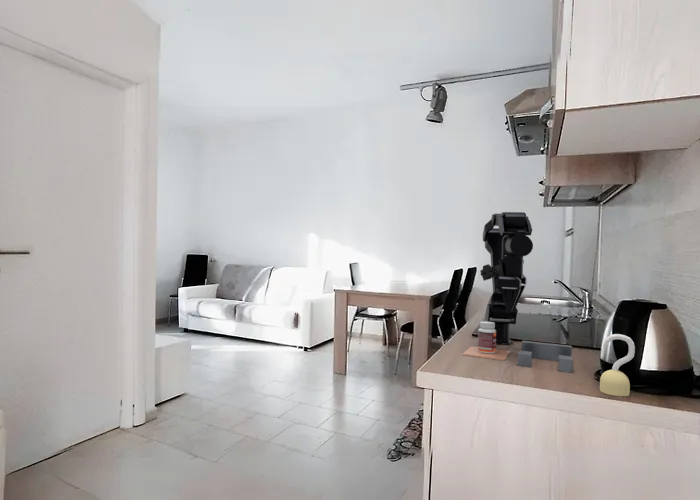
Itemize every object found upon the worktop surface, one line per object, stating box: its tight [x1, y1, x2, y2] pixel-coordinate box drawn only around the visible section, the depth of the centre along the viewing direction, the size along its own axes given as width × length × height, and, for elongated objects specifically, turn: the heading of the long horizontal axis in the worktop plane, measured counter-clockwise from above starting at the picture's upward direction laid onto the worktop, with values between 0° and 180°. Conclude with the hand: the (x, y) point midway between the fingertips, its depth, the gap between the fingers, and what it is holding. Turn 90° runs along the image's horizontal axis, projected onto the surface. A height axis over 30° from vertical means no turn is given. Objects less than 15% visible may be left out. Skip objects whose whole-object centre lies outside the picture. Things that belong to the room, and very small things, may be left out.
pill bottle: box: [477, 320, 497, 354], centre depth 120 cm, size 5×5×8 cm
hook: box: [599, 333, 636, 397], centre depth 88 cm, size 6×5×12 cm
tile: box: [462, 345, 511, 362], centre depth 120 cm, size 11×11×1 cm
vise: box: [517, 340, 574, 373], centre depth 113 cm, size 17×12×4 cm
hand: (510, 311), depth 122 cm, fingers open, 9 cm apart
